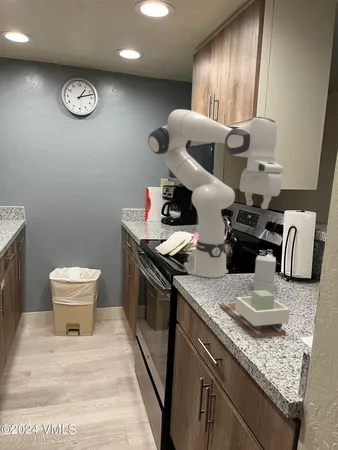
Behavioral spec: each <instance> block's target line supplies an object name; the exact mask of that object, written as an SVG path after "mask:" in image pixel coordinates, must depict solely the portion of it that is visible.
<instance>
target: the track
mask: <svg viewBox="0 0 338 450" xmlns="http://www.w3.org/2000/svg"><path fill="white" fill-rule="evenodd" d="M235 304H236V302H235V303H227V302H223V303H221V304H220V303H219V308H220V309H221V310H223V312H225V313H226V314H227V315H228V316H229V317H230V318H232V319H233V321H235V322H236V323H237V324H238V325H239V326H240V327H242V329H243V330H245V331H246V332H247V333H249V335H251V336H252V337H253V338H254V339H261V338H268V337H276V336H277V337H278V336H284V335H286V334H287V332H286V330H283V328H282V327H281V328H277V327H276V324H270V325H260V326H261V329H260V330H256V329H255V327H254V325H253V324H251V323H250V322H249V321H248V320H247V319H245V318H241V316H240V314H239V313H238V312H237V311H236V310H235Z"/></svg>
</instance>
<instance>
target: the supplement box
mask: <svg viewBox="0 0 338 450" xmlns="http://www.w3.org/2000/svg"><path fill="white" fill-rule="evenodd" d="M276 258H277V257H274V256H272V257H271V256H265V255H264V256H263V255H257V256H256V258H255V267H254V277H253V291H258V290H267V291H268V292H270V293H272V294H273V293H274V285H275V275H276V266H277V259H276Z"/></svg>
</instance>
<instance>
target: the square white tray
mask: <svg viewBox="0 0 338 450" xmlns="http://www.w3.org/2000/svg"><path fill="white" fill-rule="evenodd" d="M251 302H252V295H250V296H240V297H239V296H238V297H237V296H236V297H235V303H236V304H235V310H236V311H237V312H238V313H239V314H240V316H241V318H245V319H247V320H248V321H249V322H250V323H251V324H253V325H254V327H255V329H256V330H260V329H261V326H260V325H270V324H276V327H277V328H281V329H282V327H283V324H286V323H287V324H288V323H289V321H290V312H291V310H290V308H289V307H287V306H286V305H284V304H282V303H281V302H279V301H278V300H276V299H275V298H274V307H273V309H272V310H261V311H256V310H255V309H254V308H252V307H251Z"/></svg>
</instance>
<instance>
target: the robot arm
mask: <svg viewBox="0 0 338 450" xmlns="http://www.w3.org/2000/svg"><path fill="white" fill-rule="evenodd" d="M167 118H168V119H167V124H166V125H163V126H160V127H158V128H156V129H155V130H153V131H152V132H151V133H150V134H149V135H148V139H147V142H148V146H149V148H150V150H151V151H152V152H153V153H154V154H156V155H164V154H165V157H164V162H165V164H166V166H167V167H168V168H169V170H170V171H171V173H172V174H173V175H174V176H175V177H176V179H178V180H179V182H181V184H183V185H184V186H185V188H186V189H188V190H190V191H192V195H191V202H192V206H194V208H195V210H196V212H197V213H196V214H197V216H198V239H197V240H196V245H195V249H193V250H192V251H191V252H190V253H189V255H187V261H185V262H184V263H183V266H184V268H185V270H186V272H187V274H188V275H192V276H193V275H194V276H199V277H203V278H213V279H214V278H221V277H224V276H225V275H226V274H228V273H229V269H227V255H226V253H225V252H224V251H225V244H226V243H225V231H226V230H225V229H226V225H225V222H224V221H223V216H222V210H224V209H228V207H230V206H232V205H233V203H234V202H235V198H236V195H235V194H236V193H235V190H234V189H233V188H232V187H230V186H229V185H227V184H225V183H224V182H222V181H221V180H220V179H218V178H217V177H216V176H214V175H213V174H211V173H210V172H208V171H207V170H206V169H205V168H204V167H203V166H202V165H201V164H199V163H198V162H197V161H196V159H195V158H193V156H191V155H190V154H189V153H188V152H187V149H190V147H191V146H192V142H200V143H201V142H203V143H221V144H224V148H225V150H226V152H227V153H228V154H229V155H232V156H234V157H241V158H247V163H246V167H245V168H244V169H243V171H242V173H241V175H240V180H239V181H240V182H239V191H240V192H242V193H244V196H245V200H246V204H245V205H246V206H253V205H254V204H253V203H254V200H253V199H252V196H253V194H255V195H262V196H263V197H262V198H263V200H262V203H260V209H263V210H267V209H268V208H269V204H270V202H271V200H272V197H278V196H279V195H280V193H281V191H282V189H281V188H282V183H283V182H282V179H283V178H282V174H283V172H284V167H283V166H282V165H281V164H279V163H277V162H276V161H275V160H276V159H275V158H276V157H275V149H276V147H277V142H278V141H277V138H278V126H277V122H276V121H275V120H274V119H271V118H266V117H262V116H256V117H253V118H252V119H251V121H249V122H248V123H245V124H244V125H242V126H239V127H237V128H231V127H228V126H226V125H224V124H221V123H220V122H218V121H215V120H214V119H212V118H210V117H208V116H206V115H204V114H202V113H200V112H197V111H193V110H189V109H181V108H180V109H175V110H172V111H171V113H170V114H169V115H168V117H167Z"/></svg>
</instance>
